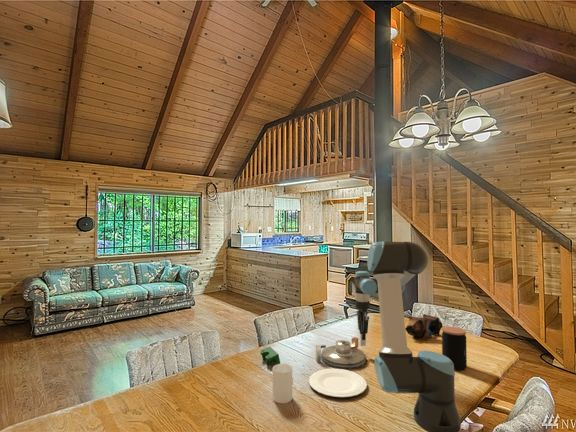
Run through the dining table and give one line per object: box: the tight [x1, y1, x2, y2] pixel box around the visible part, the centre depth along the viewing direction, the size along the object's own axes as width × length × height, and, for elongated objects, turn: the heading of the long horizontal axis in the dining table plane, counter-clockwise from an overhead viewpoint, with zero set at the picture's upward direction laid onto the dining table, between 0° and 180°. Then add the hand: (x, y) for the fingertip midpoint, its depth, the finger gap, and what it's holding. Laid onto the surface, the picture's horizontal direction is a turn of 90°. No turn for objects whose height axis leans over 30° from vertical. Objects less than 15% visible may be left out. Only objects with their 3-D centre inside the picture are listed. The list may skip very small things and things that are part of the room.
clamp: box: [259, 346, 281, 366], centre depth 162 cm, size 12×6×9 cm, turn 21°
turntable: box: [321, 336, 366, 365], centre depth 167 cm, size 25×22×6 cm
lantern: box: [405, 313, 444, 341], centre depth 200 cm, size 16×16×25 cm
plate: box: [308, 368, 368, 399], centre depth 139 cm, size 25×25×2 cm
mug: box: [272, 363, 294, 404], centre depth 131 cm, size 8×12×12 cm
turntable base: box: [315, 344, 367, 370], centre depth 165 cm, size 25×23×8 cm
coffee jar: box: [441, 325, 468, 372], centre depth 157 cm, size 11×11×18 cm
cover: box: [334, 339, 352, 357], centre depth 166 cm, size 10×10×6 cm
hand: (362, 345), depth 170 cm, fingers closed
